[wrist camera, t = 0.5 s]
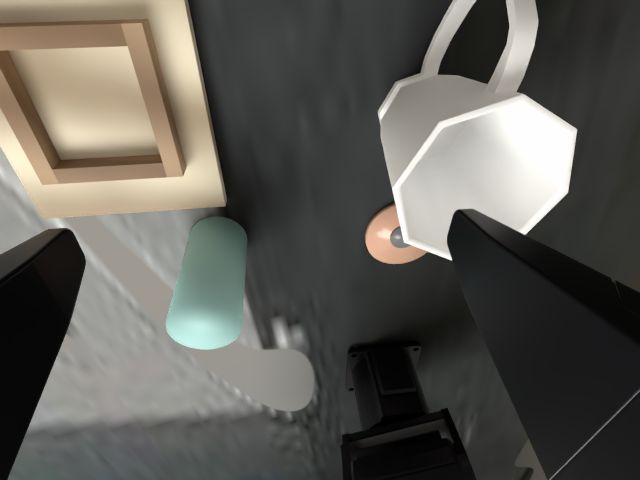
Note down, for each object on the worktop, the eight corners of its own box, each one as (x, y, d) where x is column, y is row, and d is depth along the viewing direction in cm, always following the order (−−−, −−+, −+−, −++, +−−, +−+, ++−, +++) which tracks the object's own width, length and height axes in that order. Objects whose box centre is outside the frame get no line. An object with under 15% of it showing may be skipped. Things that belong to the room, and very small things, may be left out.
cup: (344, 170, 22) (375, 262, 16) (376, -45, 16) (447, -35, 9) (457, 173, 23) (529, 262, 17) (529, -27, 17) (686, -7, 10)
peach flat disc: (431, 257, 27) (434, 262, 26) (362, 262, 26) (364, 268, 26) (444, 197, 24) (448, 203, 23) (367, 203, 23) (369, 208, 23)
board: (226, 198, 22) (224, 216, 21) (49, 210, 21) (33, 229, 20) (175, -63, 15) (165, -63, 13) (-101, -59, 14) (-143, -59, 12)
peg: (250, 258, 25) (246, 345, 20) (196, 262, 25) (176, 352, 19) (243, 214, 23) (235, 299, 18) (183, 218, 23) (156, 306, 17)
